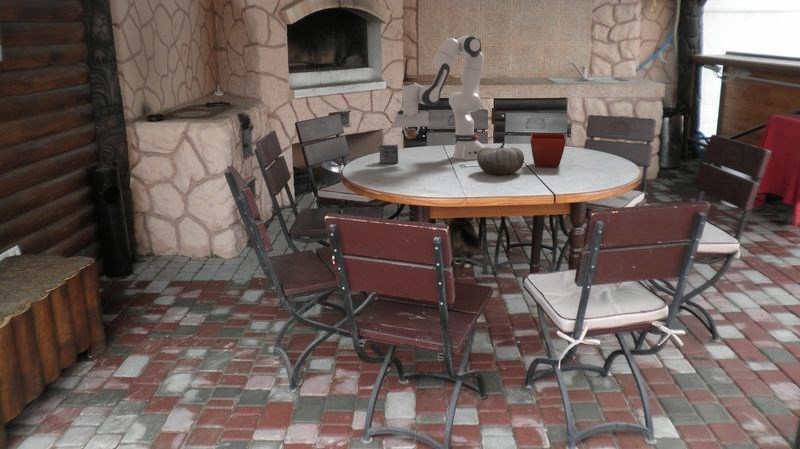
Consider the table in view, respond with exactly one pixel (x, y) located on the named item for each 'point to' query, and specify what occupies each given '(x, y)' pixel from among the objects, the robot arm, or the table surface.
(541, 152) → the plant pot
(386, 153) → the small box
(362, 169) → the table surface
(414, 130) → the walnut cube
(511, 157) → the gourd
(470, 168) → the table surface
